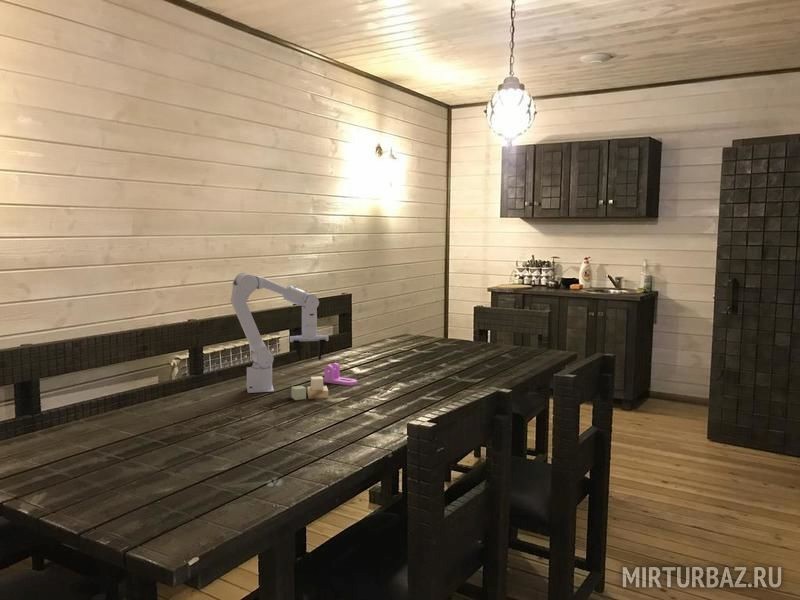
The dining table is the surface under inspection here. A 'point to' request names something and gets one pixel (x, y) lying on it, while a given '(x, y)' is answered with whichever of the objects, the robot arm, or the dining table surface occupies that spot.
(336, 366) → the bracket
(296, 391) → the sage cube
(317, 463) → the dining table surface
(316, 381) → the cream cube
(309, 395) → the oak slab
